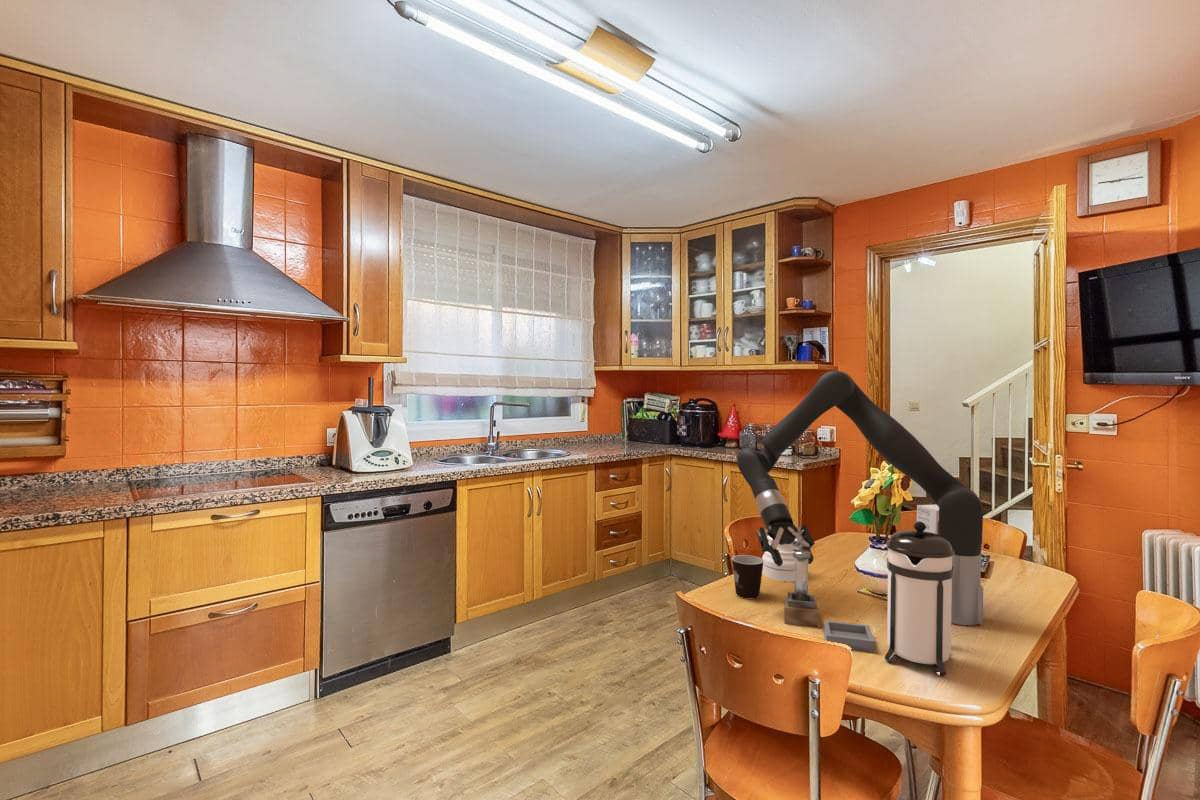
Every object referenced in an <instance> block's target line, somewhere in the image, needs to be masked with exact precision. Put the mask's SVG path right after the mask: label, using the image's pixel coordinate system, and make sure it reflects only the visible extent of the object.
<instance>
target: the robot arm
mask: <svg viewBox="0 0 1200 800" xmlns="http://www.w3.org/2000/svg"><path fill="white" fill-rule="evenodd" d="M802 399H803V400H801V401H800V402H799V404H797V406H796V407H795V408H793V409H792V410H791V411H790V412H789V413H788V414H787V415H786V416H785V417H783V418H782V419H781V420H780V421H779V422H778V423H776V424H775V425H774V427H772V428H771V429H770V430H768V432H767V433H766V434H765V435H764V436H763V437H762V439H761V443H762V445H763V448H762V450H761V451H758V450H756V449H754V448H750V447H746V448H745V447H744V448H742V449H741V450H740V451H739V452H738V454H737V456H736V457H737V458H736V463H737V467H738V471H740V474H741V475H742V477H743V478H744V479H745V481H746V483H747V485H748V486H749V487H750V489H751V492H752V495H753V497H754V500H755V502H756V507H757V509H758V512H759V515H760V517H761V520H762V523H763V525H764V527H762V526H760V528H759V529H758V530H757V532H756V535H757V539H758V542H759V545H760V548H761V551H762V552H763V553H764V552H766V551H767V552H769V553H771V555H772V558H773V560H774V563H775V564H777V566H781V565H782V564H783V561H782V558H781V556H780V553H779V551H778V550H777V546H778V544H780V545H783V544H793V545H794V546H795V547H798V548H800V549H803V550H808V551H810V558H808V565H811V564H812V563H813V562H814V560H815V559H814V555H813V553H812V551H811V549H812V547H813V546H814V545H815V544H816V543H815V540H814V538H813V536H812V535H811V533H810V530H809V529H808V527H807V525H805V524H802V525H801V526H796V525H795V524H794V521H793V518H792V517H793V516H792V515H791V513H790V510H789V508H788V506H787V503H786V501H785V498H784V497H783V495H782V494H781V492H780V490H779V488H778V485H777V483H776V481H775V479H774V477H773V476H772V475H770V474H769V473H770V472H771V471H772V469H773V468H775V467H774V466H775V465H776V463H777V462H778V461H779V460H780V458H781V456H782V454H783V453H784V452H785V451H787V450H788V449H789V448H790V446H792V445H793V444H794V443H795V442H796V441H798V440H799V438H801V437H802V435H804V433H805V432H806V431H807V430H808V428H809V427H810V426H811V425H812V424H813V423H814V422H816V420H818V419H819V417H821V416H822V415H823V414H825V413H826V412H828V411H829V410H830V409H832V408H834V407H836V408H837V409H838V410H840V412H842V413H843V414H845V415H846V416H847V417H848V418H849V419H850V420H851V421H852V422H853V423H854V425H855V426H856V427H857V428H858V430H859V431H860V433H861V434H862V436H863V438H865V439H866V440H867V442H868V443H869V444H870V445H871V447H872V448H873V449H875V451H877V453H878V454H880V456H881V457H883V459H884V460H886V462H887V463H889V464H890V466H892V467H894V468H895V469H896V470H898V471H899V472H900V473H902V474H903V475H905V476H906V477H907V478H909V479H910V480H912V481H913V482H915V483H916V484H917V486H919V487H921V488H922V490H923V491H925V493H926V494H927V495H928V496H929V498H930V499H932V500H933V502H934V503H935V505H936V504H937V505H938V507H939V535H940V536H942V537H944V538H946V539H947V540H948V541H949V542H950V544H951V546H952V548H954V550H955V553H954V556H953V557H952V566H953V577H952V603H951V624H955V625H959V626H966V625H968V626H970V625H973V626H977V624H981V625H980V626H983V625H984V624H983V623H984V586H983V585H982V584H981V578H982V577H981V576H982V575H981V574H982V573H981V572H982V570H981V569H982V567H981V566H982V545H983V530H984V528H983V526H984V507H983V504H982V502H981V500H980V498H979V496H978V495H977V494H976V493H975V491H973V490H972V489H971V488H969V487H968V486H966V485H965V484H963V482H961V481H959V479H957V478H956V477H955V476H953V475H952V474H951V473H949V472H948V471H947V470H946V469H945V468H944V467H942V465H941V464H940V463H939V462H938V461H937V460H936V459H935V458H934V457H933V455H932V454H931V452H929V450H928V449H926V448H925V446H924V445H923V444H922V443H921V442H920V441H919V440H918V439H917V438H916V437H915V436H914V435H913V434H912V433H911V432H910V431H909V430H908V429H907V428H905V427H904V426H903V425H902V424H901V423H900V422H899V421H897V420H896V419H895V418H894V417H893V416H891V415H890V414H889V413H887V412H886V411H884V410H883V408H881V407H879V406H878V405H877V404H875V402H873V401H872V400H871V399H870V398H869V397H868V396H867V395H866V393H865V392H864V391H863V390H862V389H861V388H860V386H859V385H858V384H857V383H856V382H855V380H854V379H853V378H852V376H850V375H849V374H848V373H846V372H844V371H841V370H830V371H827V372H825V373H823V374H822V375H821V376H820V377H819V378H818V381H816V383H815V384H814V386H813V387H812V388H811V389H810V391H809V392H808V394H807V395H806V396H805V397H803V398H802ZM767 536H770V537H771V538H772V539H773V540H772V543H771V545H769V540H768V539H767ZM795 538H796V539H797V541H795Z"/></svg>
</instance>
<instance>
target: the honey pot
mask: <svg viewBox="0 0 1200 800" xmlns="http://www.w3.org/2000/svg"><path fill="white" fill-rule="evenodd" d="M791 517H792V519H793V516H791ZM767 539H768V542H769V545H771V543H772V540H773V539H772V538H771V537H770V536H768V535H767ZM795 541H797V539H796V538H795ZM795 549H800V548H798V547H795V546H794V545H793V544H783V545H780V544H778V546H777V550H778V551H779V553H780V556H781V558H782V561H783V564H782V565H781V566H777V564H775V563H774V560H773V558H772V555H771V553H769V552H767V551H766V552H763V555H762V557H761V558H762V559H763V560H764V562H763V570H762V573H763V574H764V575H765V576H766V577H768V578H771V579H774V580H773V581H775V580H779V581H778V582H781V581H786V582H785V583H795V582H794V581H795V557H793V550H795ZM766 577H765V578H766ZM768 578H767V579H768ZM771 579H770V580H771Z"/></svg>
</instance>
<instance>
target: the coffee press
mask: <svg viewBox="0 0 1200 800" xmlns="http://www.w3.org/2000/svg"><path fill="white" fill-rule="evenodd" d="M913 528H914V529H905V530H899V531H896V532H894V533H893V534H891V535H890V536H889V539H888V540H887V541H886V545H885V546H886V548H887V550H888V551H887V552H888V553H887V557H886V568H887V615H886V616H887V617H886V618H887V620H886V621H887V622H886V623H887V625H886V627H887V628H886V629H887V630H886V631H887V633H886V634H887V635H886V638H887V640H886V641H887V646H888V650H887V652H886V654H885V656H884V659H885V661H886V662H888V663H889V664H891V663H892V664H894V663H895V662H896V661H897V660H898V659H900V658H902V659H904V660H907V661H910V662H914V663H917V664H922V665H923V664H924V665H930V666H931V667H932V668H933V670H934V672H935V673H936V672H940V675H942V676H947V669H946V667H945V665H944V663H945V662H947V661H948V660H949V659H950V658H951V656H952V653H951V651H952V645H951V644H952V641H951V640H952V623H951V603H952V577H953V566H952V557H953V556H954V553H955V550H954V548H952V546H951V544H950V542H949V541H948V540H947V539H946V538H944V537H942V536H940V535H938V534H934V533H931V532H925V531H924V530H925V529H926V526H925V524H924V523H923V522H920V521H919V522H917V521H916V522H915V523H914V525H913Z"/></svg>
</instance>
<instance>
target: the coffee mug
mask: <svg viewBox="0 0 1200 800" xmlns="http://www.w3.org/2000/svg"><path fill="white" fill-rule="evenodd" d="M731 559H732V561H731V562H732V569H733V578H734V579H733V581H734V587H735V595H736V594H737V595H738V596H737V595H736V596H737V597H739V596H740V597H739V598H741V597H743V598H742V599H745V598H755V599H758V598H759V597H760V594H761V586H762V576H763V575H762V570H763V562H764V560H763V559H762V557H758V556H755V555H748V554H740V555H739V554H738V555H734V556H733V557H731ZM758 596H759V597H758ZM757 597H758V598H757Z"/></svg>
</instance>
